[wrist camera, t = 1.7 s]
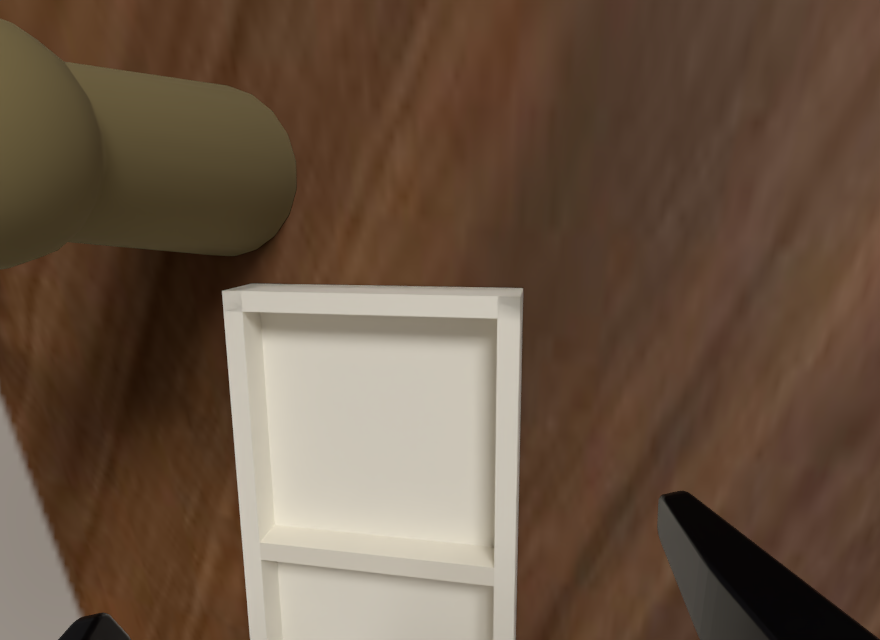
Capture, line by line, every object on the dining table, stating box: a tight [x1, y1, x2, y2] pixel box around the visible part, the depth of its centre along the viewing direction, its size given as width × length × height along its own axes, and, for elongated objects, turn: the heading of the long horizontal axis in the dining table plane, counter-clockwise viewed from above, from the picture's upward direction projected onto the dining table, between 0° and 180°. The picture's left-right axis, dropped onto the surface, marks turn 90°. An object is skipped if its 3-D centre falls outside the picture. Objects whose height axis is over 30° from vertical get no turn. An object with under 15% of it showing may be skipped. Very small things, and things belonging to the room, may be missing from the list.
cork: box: [0, 19, 296, 269], centre depth 15 cm, size 6×6×11 cm
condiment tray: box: [222, 283, 523, 640], centre depth 21 cm, size 19×10×2 cm, turn 1°
